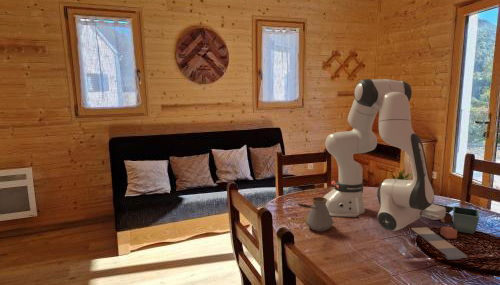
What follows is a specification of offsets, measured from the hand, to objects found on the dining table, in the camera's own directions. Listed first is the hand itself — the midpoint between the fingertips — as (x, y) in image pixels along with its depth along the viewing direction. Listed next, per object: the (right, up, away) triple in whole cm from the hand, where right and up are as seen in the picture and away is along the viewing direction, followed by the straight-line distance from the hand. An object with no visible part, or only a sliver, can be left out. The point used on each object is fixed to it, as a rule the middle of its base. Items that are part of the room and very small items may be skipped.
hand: (424, 201), depth 136 cm
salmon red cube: (+7, -14, -4) cm, 16 cm away
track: (0, -15, -8) cm, 16 cm away
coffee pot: (-45, -14, +5) cm, 47 cm away
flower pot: (+17, -13, +1) cm, 21 cm away
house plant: (+8, -7, +39) cm, 41 cm away
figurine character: (+11, -11, +14) cm, 21 cm away
